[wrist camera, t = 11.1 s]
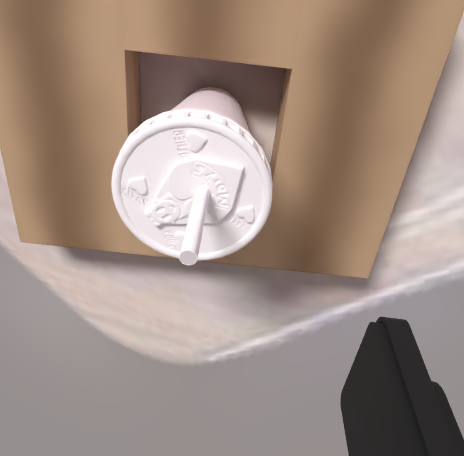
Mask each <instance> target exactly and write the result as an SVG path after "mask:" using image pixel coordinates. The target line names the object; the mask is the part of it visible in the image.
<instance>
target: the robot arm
mask: <svg viewBox="0 0 464 456" xmlns="http://www.w3.org/2000/svg"><path fill="white" fill-rule="evenodd" d="M341 410H342V416H343V423H344V429H345V435H346V440H347V447H348V453H349V456H464V439H463V437H462V434H461V432H460V430H459V427H458V425H457V422H456V420H455V417H454V415H453V412H452V410H451V407H450V405H449V402H448V400H447V397H446V395H445V393H444V391H443V389H442V388H441V386H439V384H438V383H436V382H433V381H431V379H430V377H429V374H428V372H427V369H426V367H425V364H424V361H423V359H422V356H421V354H420V351H419V348H418V346H417V343H416V341H415V338H414V335H413V333H412V330H411V328H410V325H409V323H408V322H407V321H406V320H403V319H395V318H386V317H379V318H378V320H377V321H376V323H375V322H370V323H369V325H368V327H367V330H366V333H365V335H364V337H363V340H362V343H361V345H360V348H359V350H358V352H357V355H356V357H355V360H354V362H353V365H352V367H351V370H350V373H349V375H348V378H347V380H346V382H345V385H344V387H343V390H342V393H341Z"/></svg>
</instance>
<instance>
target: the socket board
mask: <svg viewBox="0 0 464 456" xmlns="http://www.w3.org/2000/svg"><path fill="white" fill-rule="evenodd" d="M463 11H464V0H0V149H1V154H2V158H3V163H4V167H5V172H6V177H7V181H8V186H9V191H10V195H11V200H12V205H13V209H14V214H15V219H16V223H17V228H18V233H19V237H20V242H25V243H34V244H44V245H53V246H63V247H72V248H82V249H92V250H101V251H111V252H120V253H130V254H139V255H149V256H158V257H168V258H174V257H171V256H168V255H165V254H163V253H160V252H158V251H156V250H154V249H152V248H151V247H149V246H147V245H146V244H144V243H143V242H142V241H140V240H139V239H138V238H137V237H136V236H135V235H134V234H133V233H132V232H131V231H130V230H129V229H128V227H127V226H126V225H125V223H124V222H123V220H122V219H121V217H120V215H119V213H118V211H117V209H116V206H115V203H114V200H113V195H112V187H111V183H112V172H113V168H114V164H115V162H116V159H117V157H118V155H119V152H120V150H121V148H122V147H123V145H124V143H125V142H126V140H127V138H128V136H129V135H130V134H131V133H132V132H133V131H134V130H135V129H136V128H138V127H139V126H140V125H141V109H140V59H139V52H148V53H157V54H166V55H174V56H183V57H192V58H201V59H210V60H218V61H227V62H236V63H245V64H253V65H262V66H271V67H280V68H286V71H285V77H284V83H283V89H282V96H281V102H280V108H279V114H278V120H277V126H276V133H275V139H274V145H273V151H272V157H271V163H270V168H271V175H272V182H273V188H272V202H271V208H270V212H269V215H268V217H267V220H266V222H265V224H264V226H263V227H262V229H261V230H260V232H259V233H258V234H257V235H256V237H255V238H254V239H253V240H252V241H251V242H249V243H248V244H247V245H246V246H244V247H243V248H241V249H240V250H238V251H236V252H234V253H232V254H229V255H227V256H224V257H221V258H217V259H211V260H202V261H206V262H215V263H225V264H235V265H244V266H254V267H263V268H273V269H282V270H292V271H301V272H311V273H320V274H330V275H339V276H349V277H359V278H368V277H369V274H370V271H371V269H372V266H373V263H374V260H375V257H376V255H377V252H378V249H379V246H380V243H381V241H382V238H383V235H384V232H385V229H386V227H387V224H388V221H389V218H390V216H391V213H392V210H393V207H394V204H395V202H396V199H397V196H398V193H399V190H400V188H401V185H402V182H403V179H404V176H405V174H406V171H407V168H408V165H409V162H410V160H411V157H412V154H413V151H414V148H415V146H416V143H417V140H418V137H419V134H420V132H421V129H422V126H423V123H424V120H425V118H426V115H427V112H428V109H429V106H430V104H431V101H432V98H433V95H434V93H435V90H436V87H437V84H438V81H439V79H440V76H441V73H442V70H443V67H444V65H445V62H446V59H447V56H448V53H449V51H450V48H451V45H452V42H453V39H454V37H455V34H456V31H457V28H458V25H459V23H460V20H461V17H462V14H463ZM177 259H178V258H177Z"/></svg>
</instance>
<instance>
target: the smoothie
mask: <svg viewBox="0 0 464 456" xmlns="http://www.w3.org/2000/svg"><path fill="white" fill-rule="evenodd" d="M111 187H112V195H113V200H114V203H115V206H116V209H117V211H118V213H119V215H120V217H121V219H122V220H123V222H124V223H125V225H126V226H127V227H128V229H129V230H130V231H131V232H132V233H133V234H134V235H135V236H136V237H137V238H138V239H139V240H140V241H142V242H143V243H144V244H146V245H147V246H149V247H151V248H152V249H154V250H156V251H158V252H160V253H163V254H165V255H168V256H171V257H174V258H178V259H179V260H180V261H181V262H182V263H183V264H185V265H193V264H195V263H196V262H197V261H202V260H211V259H217V258H221V257H224V256H227V255H229V254H232V253H234V252H236V251H238V250H240V249H241V248H243V247H244V246H246V245H247V244H248V243H249V242H251V241H252V240H253V239H254V238H255V237H256V235H257V234H258V233H259V232H260V230H261V229H262V227H263V226H264V224H265V222H266V220H267V217H268V215H269V212H270V208H271V202H272V188H273V182H272V175H271V168H270V165H269V162H268V160H267V158H266V156H265V153H264V151H263V149H262V147H261V146H260V145H259V144H258V142H257V141H256V140H255V139H254V138H253V136H252V135H251V134H250V131H249V128H248V125H247V123H246V120H245V117H244V114H243V111H242V109H241V106H240V104H239V103H238V101H237V100H236V99H235V97H234V96H233V95H231V94H230V93H229V92H227V91H225V90H223V89H220V88H216V87H206V88H202V89H199V90H197V91H195V92H193V93H192V94H191V95H190V96H188V97H187V98H186V99H185V100H183V101H182V102H181V103H180V104H178V105H177V106H176V107H175V108H173V109H172V110H171V111H167V112H163V113H161V114H159V115H157V116H154V117H152V118H150V119H148V120H146V121H144V122H143V123H142V124H141V125H140V126H139V127H138V128H136V129H135V130H134V131H133V132H132V133H131V134H130V135H129V136H128V138H127V140H126V142H125V143H124V145H123V147H122V148H121V150H120V152H119V155H118V157H117V159H116V162H115V164H114V168H113V172H112V183H111Z"/></svg>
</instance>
